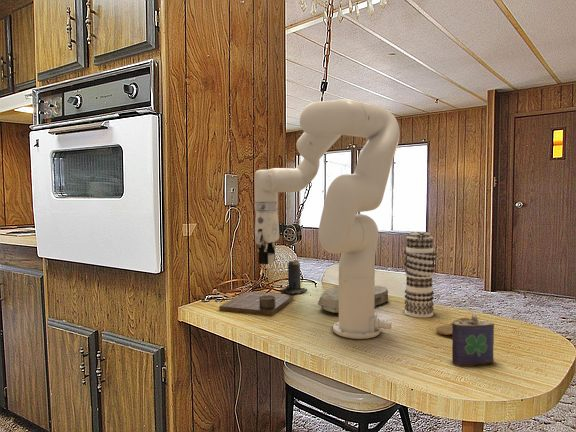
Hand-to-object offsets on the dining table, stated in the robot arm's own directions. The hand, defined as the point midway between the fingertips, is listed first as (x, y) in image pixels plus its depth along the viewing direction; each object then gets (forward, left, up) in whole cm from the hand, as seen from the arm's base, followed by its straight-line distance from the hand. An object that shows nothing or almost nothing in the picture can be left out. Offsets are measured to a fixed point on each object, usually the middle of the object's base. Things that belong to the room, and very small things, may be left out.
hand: (266, 261), depth 137 cm
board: (+3, +1, -15) cm, 15 cm away
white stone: (0, 0, 0) cm, 0 cm away
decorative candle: (-48, -6, -15) cm, 51 cm away
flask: (-61, +28, -15) cm, 69 cm away
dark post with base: (-3, -19, -15) cm, 24 cm away
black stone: (-3, +7, -13) cm, 15 cm away
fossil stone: (-27, -8, -15) cm, 32 cm away
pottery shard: (-59, +9, -15) cm, 61 cm away
